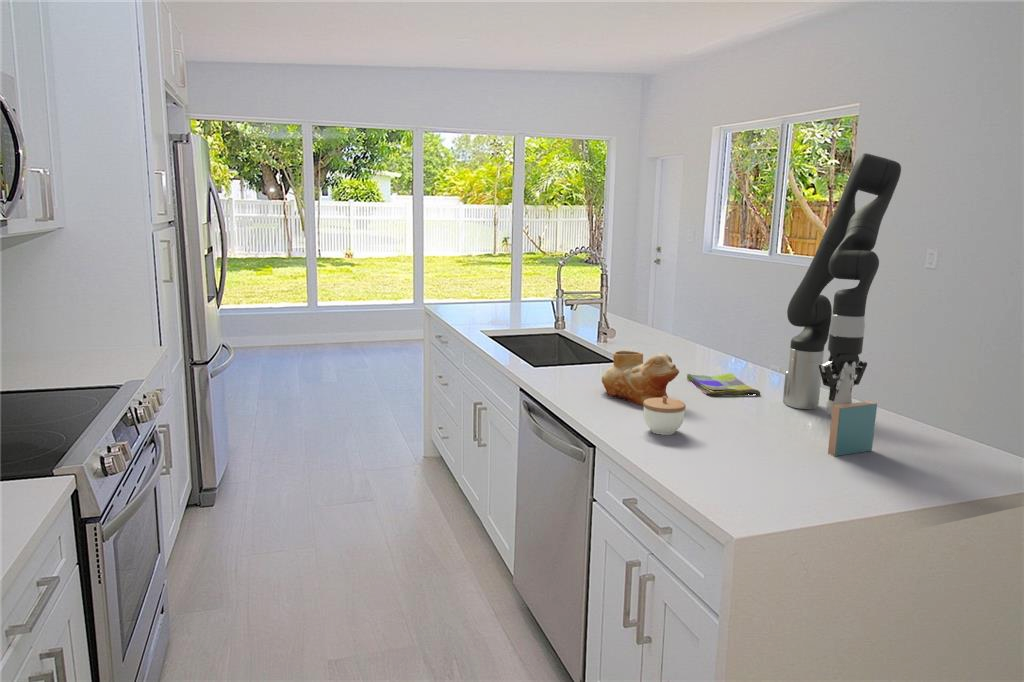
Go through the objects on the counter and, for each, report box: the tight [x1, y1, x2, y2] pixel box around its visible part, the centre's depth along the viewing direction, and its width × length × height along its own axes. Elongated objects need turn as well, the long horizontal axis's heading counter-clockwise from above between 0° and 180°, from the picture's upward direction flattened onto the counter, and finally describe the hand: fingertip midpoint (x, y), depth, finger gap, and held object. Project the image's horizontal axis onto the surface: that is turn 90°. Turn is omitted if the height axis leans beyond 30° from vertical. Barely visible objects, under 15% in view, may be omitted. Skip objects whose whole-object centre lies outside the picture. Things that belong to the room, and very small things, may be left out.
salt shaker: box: [826, 364, 853, 416], centre depth 173 cm, size 6×6×13 cm
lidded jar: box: [643, 396, 686, 436], centre depth 184 cm, size 11×11×9 cm
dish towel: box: [686, 373, 761, 396], centre depth 232 cm, size 18×24×3 cm
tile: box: [827, 400, 878, 457], centre depth 171 cm, size 2×12×12 cm, turn 113°
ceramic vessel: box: [601, 350, 680, 407], centre depth 216 cm, size 14×26×15 cm, turn 40°
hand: (839, 402), depth 174 cm, fingers closed on salt shaker, 3 cm apart
